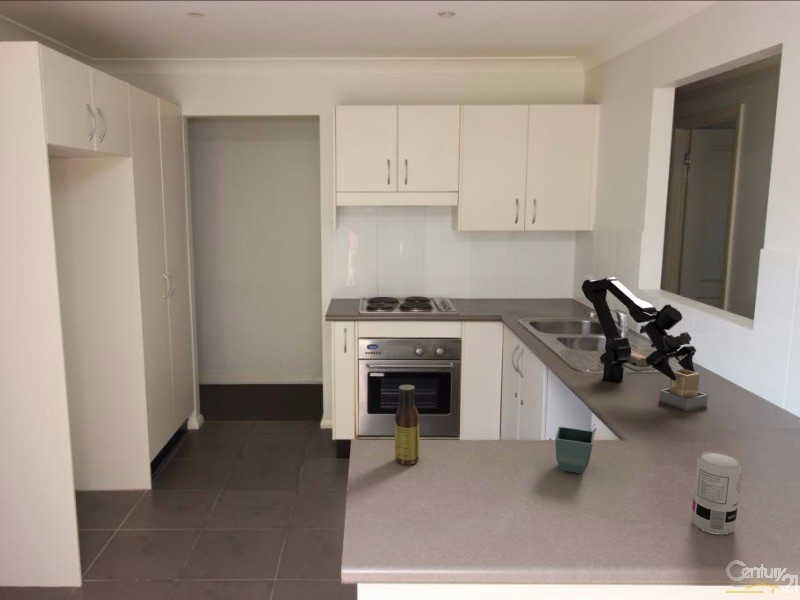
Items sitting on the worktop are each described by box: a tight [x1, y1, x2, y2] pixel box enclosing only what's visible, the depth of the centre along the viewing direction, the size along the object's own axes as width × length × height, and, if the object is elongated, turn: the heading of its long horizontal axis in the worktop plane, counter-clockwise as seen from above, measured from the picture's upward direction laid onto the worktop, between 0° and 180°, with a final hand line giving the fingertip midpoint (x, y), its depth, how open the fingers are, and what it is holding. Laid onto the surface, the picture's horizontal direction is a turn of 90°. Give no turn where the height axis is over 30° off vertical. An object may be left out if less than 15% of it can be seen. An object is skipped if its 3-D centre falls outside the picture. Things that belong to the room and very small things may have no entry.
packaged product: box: [623, 349, 656, 371], centre depth 253 cm, size 18×5×10 cm
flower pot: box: [554, 426, 595, 474], centre depth 157 cm, size 9×9×9 cm
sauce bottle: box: [394, 384, 421, 466], centre depth 159 cm, size 6×6×20 cm
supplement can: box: [691, 451, 743, 534], centre depth 130 cm, size 8×8×15 cm
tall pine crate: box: [669, 368, 700, 399], centre depth 205 cm, size 6×6×10 cm
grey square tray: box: [658, 387, 709, 412], centre depth 206 cm, size 10×10×4 cm
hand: (684, 378), depth 205 cm, fingers open, 9 cm apart
